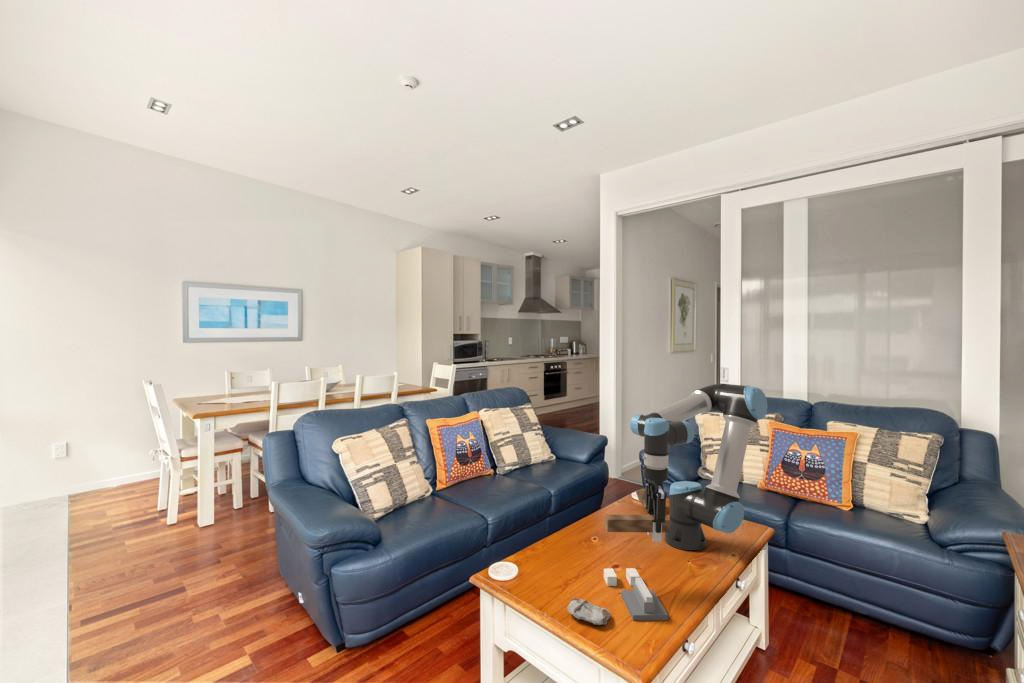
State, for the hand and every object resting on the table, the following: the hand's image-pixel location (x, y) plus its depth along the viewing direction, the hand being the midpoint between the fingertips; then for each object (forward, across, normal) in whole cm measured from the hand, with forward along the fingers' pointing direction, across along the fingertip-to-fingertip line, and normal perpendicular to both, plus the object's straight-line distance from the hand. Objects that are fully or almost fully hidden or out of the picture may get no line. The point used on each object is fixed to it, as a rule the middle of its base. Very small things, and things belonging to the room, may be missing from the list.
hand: (654, 537), depth 142 cm
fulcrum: (+15, +12, -7) cm, 21 cm away
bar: (-3, 0, -6) cm, 6 cm away
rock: (+15, -59, +19) cm, 64 cm away
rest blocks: (+15, -1, -10) cm, 18 cm away
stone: (+16, +16, -25) cm, 34 cm away
